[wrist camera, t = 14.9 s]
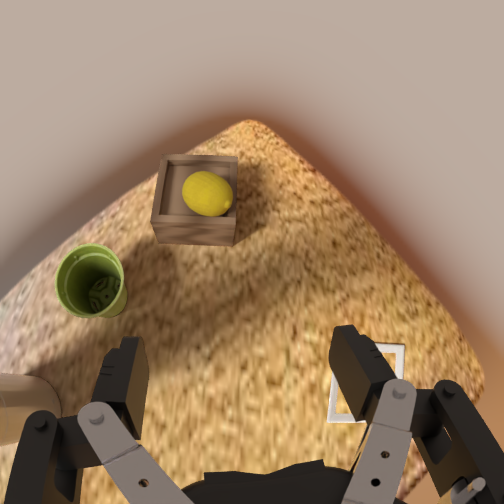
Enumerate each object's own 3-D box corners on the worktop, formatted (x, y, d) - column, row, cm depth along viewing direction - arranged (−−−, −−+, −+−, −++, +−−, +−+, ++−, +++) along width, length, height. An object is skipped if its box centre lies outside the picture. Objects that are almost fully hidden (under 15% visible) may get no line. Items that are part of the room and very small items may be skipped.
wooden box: (159, 244, 47) (150, 221, 40) (167, 182, 51) (162, 154, 44) (232, 247, 48) (235, 224, 41) (234, 184, 52) (237, 156, 45)
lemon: (190, 204, 45) (233, 227, 42) (164, 199, 40) (208, 224, 37) (205, 168, 44) (250, 188, 41) (180, 159, 39) (226, 179, 36)
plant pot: (117, 253, 45) (99, 228, 37) (151, 303, 43) (138, 286, 35) (69, 290, 42) (43, 272, 34) (101, 342, 40) (77, 333, 32)
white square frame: (401, 345, 45) (417, 341, 41) (395, 420, 41) (412, 422, 36) (332, 341, 44) (344, 336, 40) (324, 421, 40) (336, 426, 35)
